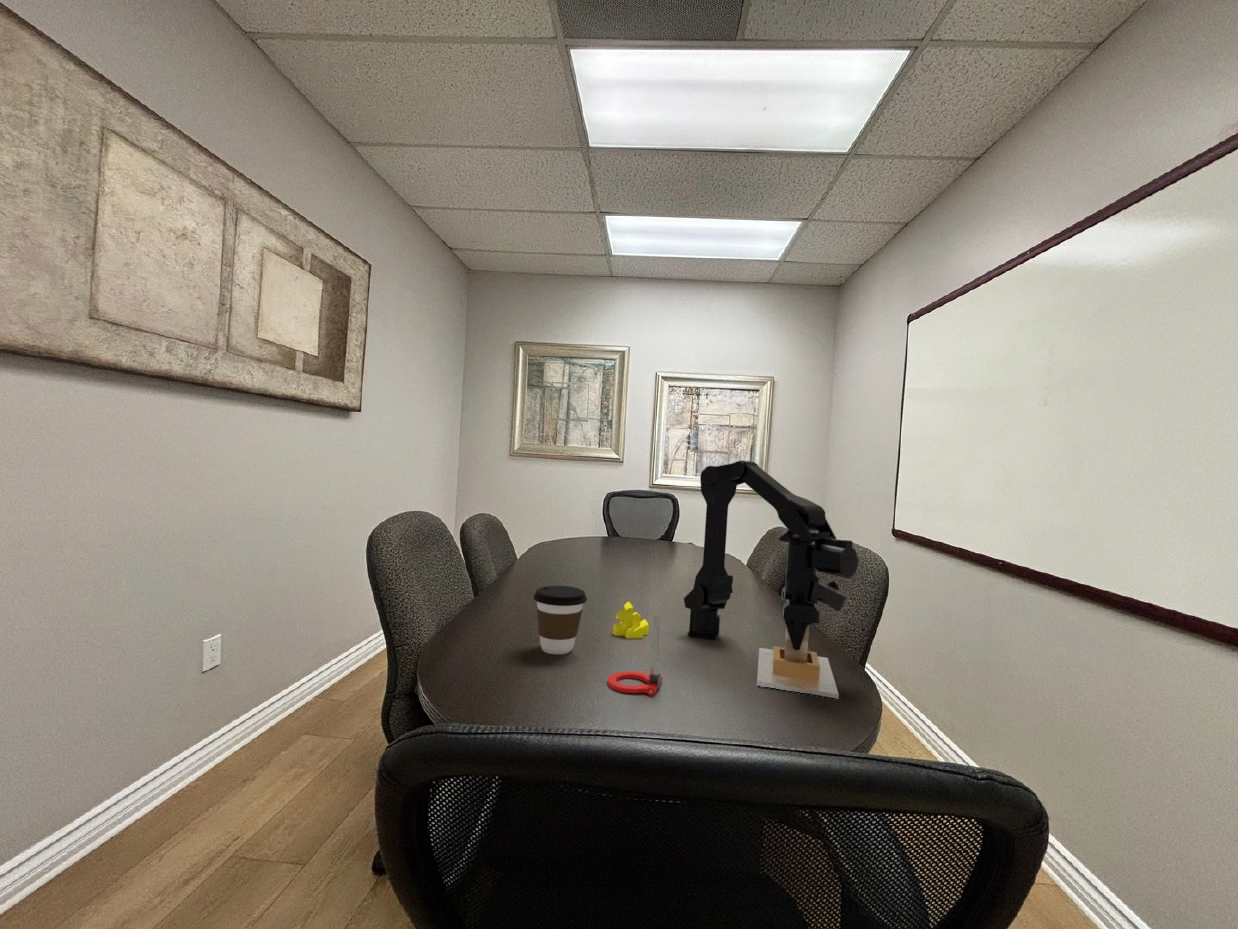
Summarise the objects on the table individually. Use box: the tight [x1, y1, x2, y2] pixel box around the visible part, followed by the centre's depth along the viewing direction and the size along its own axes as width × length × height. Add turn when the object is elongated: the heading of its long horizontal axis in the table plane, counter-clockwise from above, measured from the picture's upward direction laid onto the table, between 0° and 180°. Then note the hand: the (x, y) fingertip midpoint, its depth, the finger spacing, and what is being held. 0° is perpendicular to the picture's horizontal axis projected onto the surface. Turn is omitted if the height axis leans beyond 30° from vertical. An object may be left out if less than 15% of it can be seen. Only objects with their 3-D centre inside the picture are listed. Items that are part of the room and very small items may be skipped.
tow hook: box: [607, 614, 663, 697], centre depth 99 cm, size 8×13×9 cm
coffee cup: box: [533, 585, 588, 655], centre depth 114 cm, size 11×11×12 cm
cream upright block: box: [784, 625, 810, 662], centre depth 110 cm, size 4×4×8 cm
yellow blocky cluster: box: [612, 601, 650, 640], centre depth 128 cm, size 6×8×8 cm
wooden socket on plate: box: [756, 645, 840, 700], centre depth 110 cm, size 14×20×4 cm
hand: (795, 646), depth 110 cm, fingers closed on cream upright block, 4 cm apart
